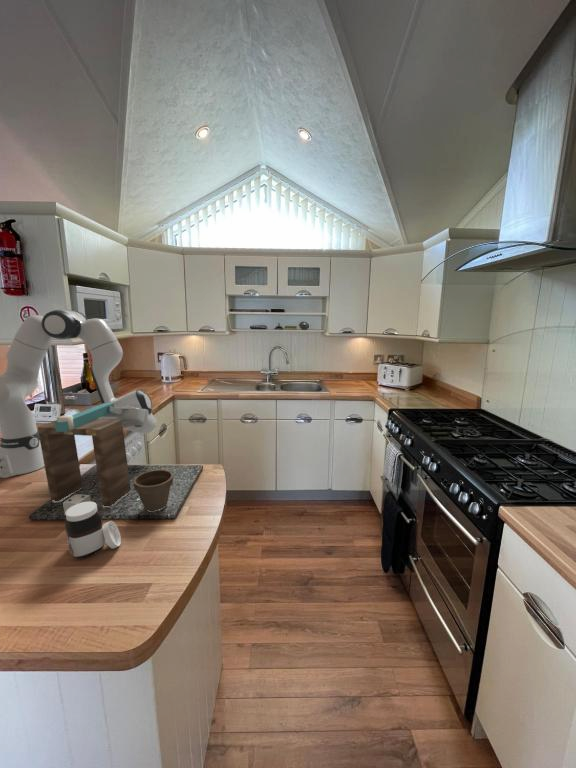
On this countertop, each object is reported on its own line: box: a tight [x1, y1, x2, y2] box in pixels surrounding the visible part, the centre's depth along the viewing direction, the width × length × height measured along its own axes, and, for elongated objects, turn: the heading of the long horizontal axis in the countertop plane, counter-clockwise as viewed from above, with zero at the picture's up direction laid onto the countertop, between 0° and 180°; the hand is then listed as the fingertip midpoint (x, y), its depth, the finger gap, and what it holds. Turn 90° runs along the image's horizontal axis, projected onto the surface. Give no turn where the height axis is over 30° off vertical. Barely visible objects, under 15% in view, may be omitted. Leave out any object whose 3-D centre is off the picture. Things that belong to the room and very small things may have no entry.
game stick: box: [55, 403, 115, 432], centre depth 110 cm, size 4×22×4 cm, turn 171°
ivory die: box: [62, 493, 92, 514], centre depth 103 cm, size 5×5×5 cm
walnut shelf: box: [37, 419, 132, 506], centre depth 110 cm, size 22×10×26 cm, turn 80°
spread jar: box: [64, 501, 122, 560], centre depth 86 cm, size 12×11×12 cm
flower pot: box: [133, 469, 174, 511], centre depth 105 cm, size 12×11×10 cm
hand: (102, 408), depth 117 cm, fingers closed on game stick, 3 cm apart
